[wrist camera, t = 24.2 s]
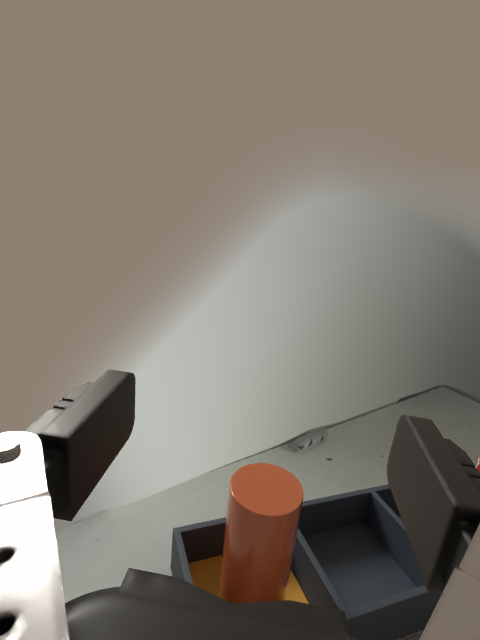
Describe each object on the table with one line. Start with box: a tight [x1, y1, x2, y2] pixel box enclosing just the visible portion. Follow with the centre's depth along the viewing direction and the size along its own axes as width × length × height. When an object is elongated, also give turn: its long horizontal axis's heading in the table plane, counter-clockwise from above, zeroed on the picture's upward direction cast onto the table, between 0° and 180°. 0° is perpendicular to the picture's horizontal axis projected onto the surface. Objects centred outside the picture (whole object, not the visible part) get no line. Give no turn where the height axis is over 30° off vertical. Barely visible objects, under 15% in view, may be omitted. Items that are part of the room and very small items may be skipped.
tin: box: [218, 463, 303, 603], centre depth 30 cm, size 6×6×12 cm
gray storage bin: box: [171, 484, 442, 640], centre depth 35 cm, size 32×11×4 cm, turn 110°
